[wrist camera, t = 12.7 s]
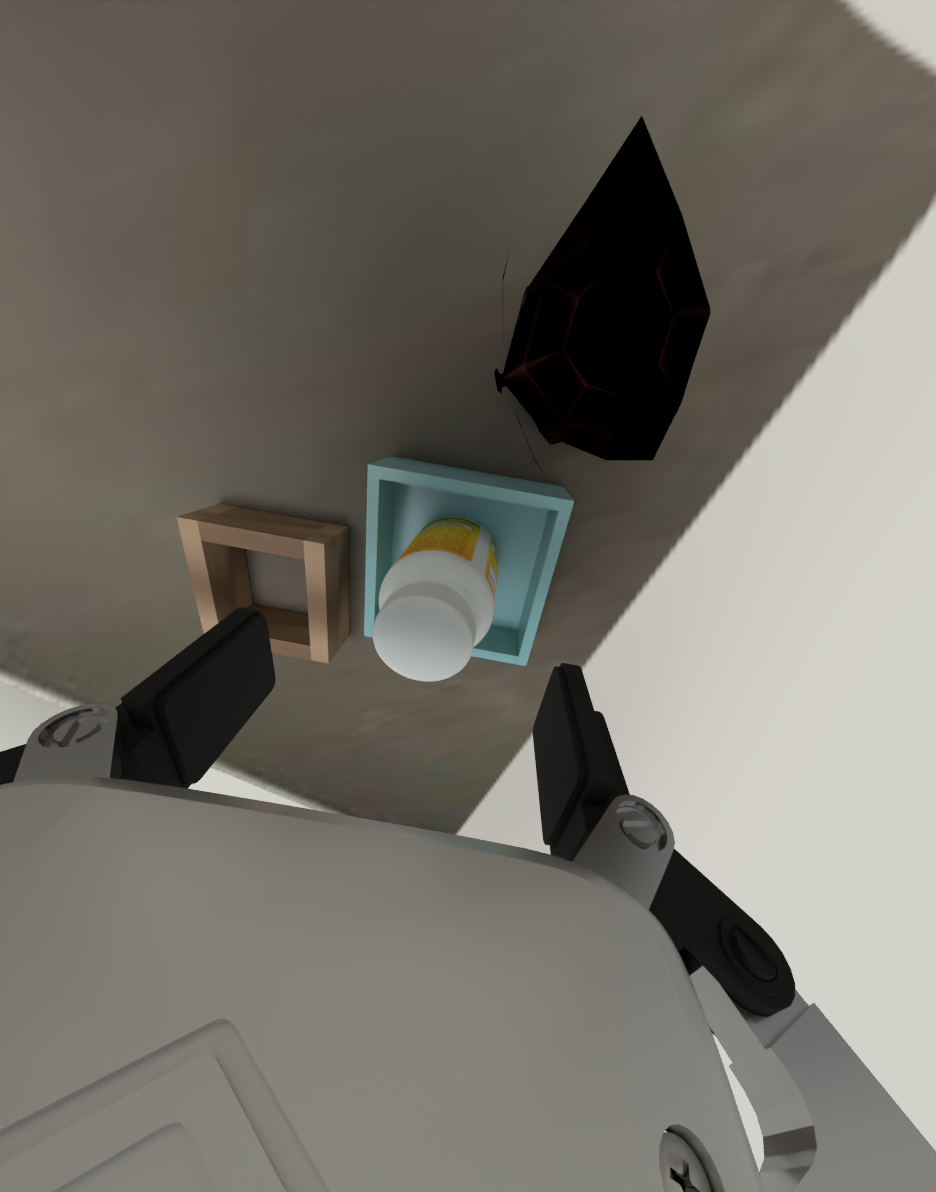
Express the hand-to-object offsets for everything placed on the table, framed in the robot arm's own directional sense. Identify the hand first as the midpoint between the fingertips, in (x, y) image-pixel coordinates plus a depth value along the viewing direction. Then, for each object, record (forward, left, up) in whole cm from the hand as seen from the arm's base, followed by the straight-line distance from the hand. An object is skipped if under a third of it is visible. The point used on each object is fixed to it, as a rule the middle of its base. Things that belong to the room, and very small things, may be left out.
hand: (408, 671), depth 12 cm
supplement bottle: (0, 0, -12) cm, 12 cm away
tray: (0, 0, -13) cm, 13 cm away
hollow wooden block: (+4, -11, -13) cm, 18 cm away
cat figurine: (-10, +4, -13) cm, 17 cm away
